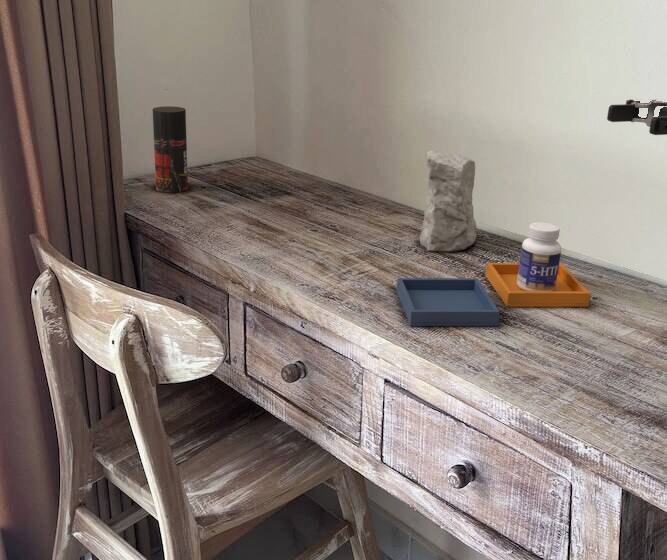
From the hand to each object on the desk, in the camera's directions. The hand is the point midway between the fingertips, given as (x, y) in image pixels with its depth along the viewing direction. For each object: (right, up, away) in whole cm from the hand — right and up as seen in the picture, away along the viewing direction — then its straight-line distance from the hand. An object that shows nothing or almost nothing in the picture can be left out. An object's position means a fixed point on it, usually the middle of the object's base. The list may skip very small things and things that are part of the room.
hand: (630, 119), depth 106 cm
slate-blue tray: (-24, -25, +1) cm, 34 cm away
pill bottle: (-10, -22, +8) cm, 26 cm away
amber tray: (-11, -22, +8) cm, 26 cm away
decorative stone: (-20, -15, +25) cm, 36 cm away
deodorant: (-69, -4, +49) cm, 85 cm away
